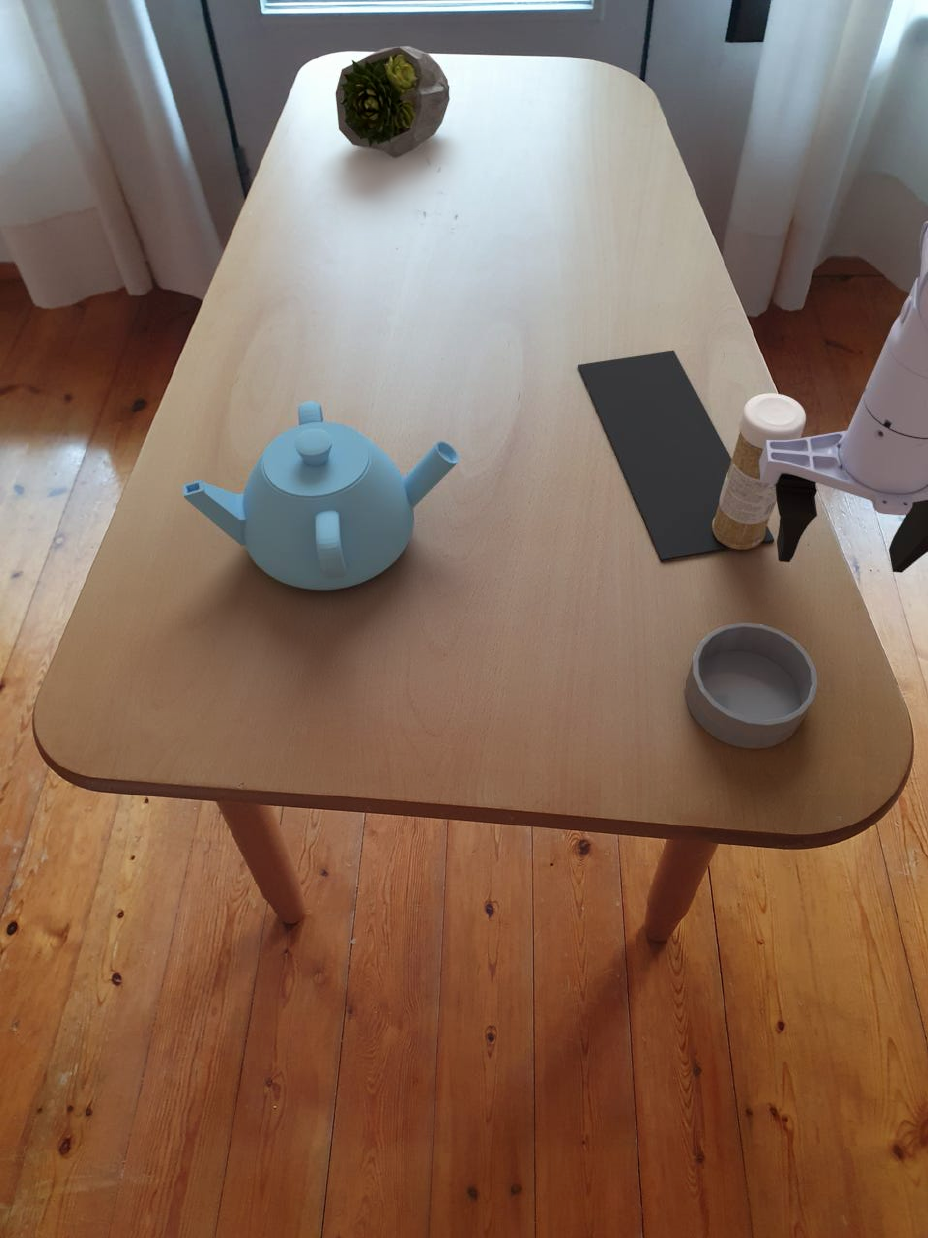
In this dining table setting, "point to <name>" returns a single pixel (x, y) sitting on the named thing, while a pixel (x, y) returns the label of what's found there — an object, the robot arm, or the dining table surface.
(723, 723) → the basin
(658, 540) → the mat
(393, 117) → the potted plant
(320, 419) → the teapot
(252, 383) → the dining table surface
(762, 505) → the sprinkles bottle
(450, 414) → the dining table surface
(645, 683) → the dining table surface
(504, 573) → the dining table surface
